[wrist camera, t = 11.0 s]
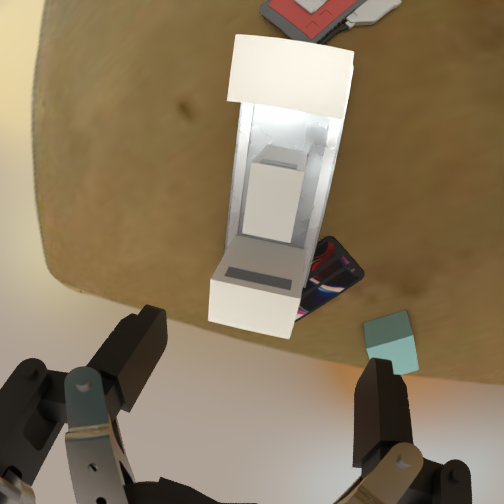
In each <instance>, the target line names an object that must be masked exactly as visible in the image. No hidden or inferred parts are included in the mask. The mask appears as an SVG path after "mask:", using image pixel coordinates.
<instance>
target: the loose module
mask: <svg viewBox="0 0 504 504" xmlns="http://www.w3.org/2000/svg"><path fill="white" fill-rule="evenodd" d="M306 159H307V152H303V151H298V150H293V149H287V148H282V147H276V146H271V145H267V146H266V147H265V148H264V149H263V150H262V151H261V152H260V153H259V154H258V155H257V157H256V158H255V159H254V160H253V161H252V162H251V168H250V176H249V183H248V191H247V199H246V207H245V214H244V222H243V230H242V233H244V234H249V235H253V236H258V237H263V238H268V239H273V240H278V241H283V242H287V243H290V242H291V237H292V232H293V227H294V223H295V218H296V213H297V208H298V203H299V198H300V193H301V188H302V183H303V177H304V172H305V165H306Z"/></svg>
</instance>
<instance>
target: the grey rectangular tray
mask: <svg viewBox="0 0 504 504" xmlns="http://www.w3.org/2000/svg"><path fill="white" fill-rule="evenodd" d="M353 67H354V66H352V70H351V76H350V82H349V88H348V93H347V99H346V105H345V110H344V116H343V120H340V119H335V118H331V117H326V116H321V115H316V114H311V113H306V112H301V111H295V110H290V109H284V108H278V107H271V106H264V105H257V104H250V103H242V102H241V108H240V116H239V124H238V132H237V141H236V149H235V158H234V166H233V175H232V184H231V193H230V203H229V212H228V222H227V232H226V242H225V252H226V250H227V248H228V247H229V245H230V243H231V241H232V239H233V238H234V236H243V237H248V238H253V239H258V240H263V241H268V242H272V243H277V244H282V245H287V246H292V247H296V248H301V249H303V250H304V251H306V255H305V265H304V275H303V284H302V289H303V287H304V288H305V287H306V283H307V279H308V276H309V272H310V268H311V264H312V260H313V257H314V253H315V249H316V245H317V241H318V237H319V233H320V229H321V225H322V221H323V216H324V212H325V208H326V204H327V199H328V195H329V191H330V186H331V182H332V177H333V173H334V168H335V163H336V159H337V154H338V149H339V144H340V139H341V134H342V129H343V124H344V119H345V113H346V108H347V102H348V97H349V91H350V85H351V79H352V73H353ZM267 145H271V146H276V147H282V148H287V149H293V150H298V151H303V152H307V159H306V165H305V172H304V177H303V183H302V188H301V193H300V198H299V203H298V208H297V213H296V218H295V223H294V227H293V232H292V237H291V242H290V243H287V242H283V241H278V240H273V239H268V238H263V237H258V236H253V235H249V234H244V233H242V230H243V222H244V214H245V207H246V199H247V191H248V183H249V176H250V168H251V162H252V161H253V160H254V159H255V158H256V157H257V155H258V154H259V153H260V152H261V151H262V150H263V149H264V148H265V147H266V146H267ZM225 252H224V254H225Z"/></svg>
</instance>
